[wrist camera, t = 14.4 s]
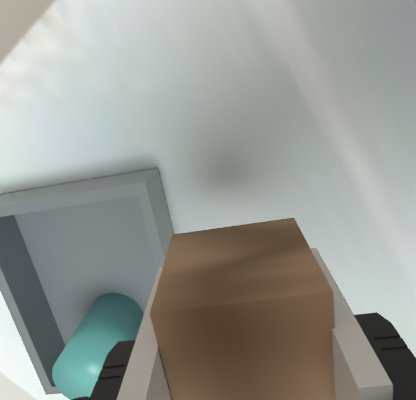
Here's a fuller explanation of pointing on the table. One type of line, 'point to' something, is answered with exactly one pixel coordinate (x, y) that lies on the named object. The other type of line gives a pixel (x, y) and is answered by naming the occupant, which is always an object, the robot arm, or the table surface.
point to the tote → (78, 254)
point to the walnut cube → (245, 315)
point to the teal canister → (95, 343)
